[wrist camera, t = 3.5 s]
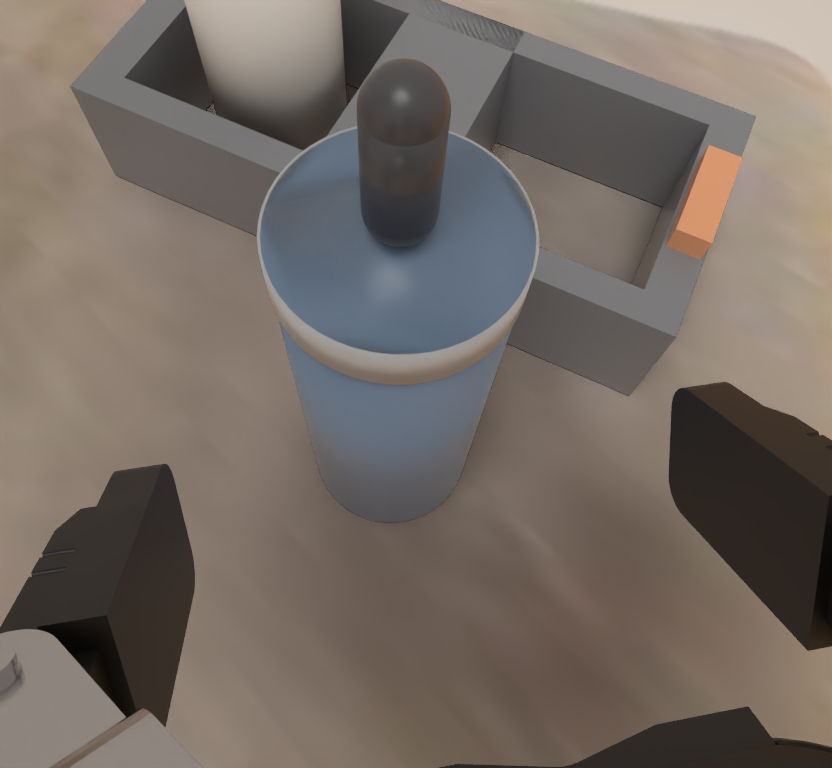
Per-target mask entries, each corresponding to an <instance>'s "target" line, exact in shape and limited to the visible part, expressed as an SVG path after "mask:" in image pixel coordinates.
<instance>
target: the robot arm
mask: <svg viewBox="0 0 832 768" xmlns="http://www.w3.org/2000/svg"><path fill="white" fill-rule="evenodd" d="M669 484H670V490H671V494H672V497H673V500H674V502H675V504H676V506H677V508H678V510H679V511H680V513H681V514H682V515H683V516H684V517H685V518H686V519H687V520H688V521H689V523H690V524H691V525H692V526H693V527H694V528H695V529H696V530H697V531H698V532H699V533H700V534H701V536H702V537H703V538H704V539H705V540H706V541H707V542H708V543H709V544H710V545H711V546H712V547H713V549H714V550H715V551H716V552H717V553H718V554H719V555H720V556H721V557H722V558H723V559H724V560H725V562H726V563H727V564H728V565H729V566H730V567H731V568H732V569H733V570H734V571H735V572H736V573H737V575H738V576H739V577H740V578H741V579H742V580H743V581H744V582H745V583H746V584H747V585H748V586H749V588H750V589H751V590H752V591H753V592H754V593H755V594H756V595H757V596H758V597H759V598H760V599H761V601H762V602H763V603H764V604H765V605H766V606H767V607H768V608H769V609H770V610H771V611H772V612H773V614H774V615H775V616H776V617H777V618H778V619H779V620H780V621H781V622H782V623H783V624H784V625H785V627H786V628H787V629H788V630H789V631H790V632H791V633H792V634H793V635H794V636H795V637H796V639H797V640H798V641H799V642H800V643H801V644H802V645H803V646H804V647H805V648H806V649H807V650H808V651H809V650H814V649H819V648H825V647H830V646H832V440H830V439H829V438H827V437H826V436H824V435H820V436H819V433H818V431H816V430H815V429H813V428H811V427H810V426H808V425H807V424H805V423H804V422H802V421H801V420H799V419H797V418H796V417H794V416H791V415H788V414H785V413H782V412H779V411H776V410H773V409H770V408H768V407H765V406H763V405H761V404H760V403H758V402H757V401H755V400H754V399H752V398H751V397H749V396H748V395H746V394H745V393H743V392H742V391H740V390H739V389H737V388H736V387H734V386H733V385H731V384H729V383H727V382H720V383H714V384H707V385H700V386H693V387H687V388H680V389H678V390H677V391H676V393H675V394H674V397H673V401H672V411H671V434H670V458H669ZM42 554H43V557H42V558H39V560H38V562H37V563H36V565H35V567H34V569H33V571H32V572H31V573H32V577H29V578H28V579H27V581H26V583H25V585H24V586H23V588H22V590H21V592H20V594H19V595H18V597H17V599H16V601H15V602H14V604H13V606H12V608H11V609H10V611H9V613H8V615H7V617H6V618H5V620H4V622H3V624H2V625H1V627H0V768H203V767H202V766H201V765H200V764H199V763H198V762H197V761H196V760H195V759H194V758H193V757H192V756H191V755H190V754H189V753H188V751H187V750H186V749H185V748H184V747H183V746H182V745H181V744H180V743H179V742H178V741H177V740H176V739H175V738H174V736H173V735H172V734H171V733H170V732H169V731H168V730H167V729H166V728H165V726H166V722H167V717H168V712H169V708H170V703H171V698H172V694H173V689H174V684H175V679H176V675H177V670H178V665H179V661H180V656H181V651H182V646H183V642H184V637H185V632H186V628H187V623H188V618H189V613H190V609H191V604H192V599H193V595H194V587H195V572H194V561H193V555H192V550H191V546H190V542H189V538H188V534H187V530H186V526H185V522H184V518H183V513H182V509H181V505H180V501H179V497H178V493H177V489H176V485H175V481H174V478H173V474H172V472H171V470H170V468H169V466H168V465H167V464H161V465H154V466H147V467H140V468H134V469H127V470H120V471H115V472H114V473H113V474H112V476H111V478H110V480H109V482H108V484H107V486H106V488H105V490H104V492H103V494H102V496H101V498H100V500H99V502H98V504H97V506H96V507H90V508H83V509H80V510H79V511H78V512H76V513H75V514H74V515H73V516H72V517H71V518H69V519H68V520H67V521H66V522H65V523H63V524H62V525H61V526H60V527H59V528H58V529H56V530H55V532H54V533H53V535H52V537H51V539H50V540H49V542H48V544H47V546H46V548H45V549H44V551H43V553H42ZM440 768H832V747H829V746H824V745H820V744H815V743H811V742H806V741H798V740H790V739H783V738H771V736H770V735H769V734H768V732H767V731H766V730H765V728H764V727H763V726H762V724H761V723H760V722H759V720H758V719H757V718H756V716H755V715H754V713H753V712H752V711H751V709H750V708H749V707H743V708H738V709H733V710H728V711H723V712H718V713H713V714H708V715H703V716H698V717H693V718H688V719H683V720H678V721H672V722H667V723H662V724H657V725H655V726H652V727H650V728H648V729H646V730H644V731H642V732H640V733H638V734H636V735H634V736H632V737H630V738H628V739H625V740H623V741H621V742H619V743H617V744H615V745H613V746H611V747H609V748H607V749H605V750H603V751H601V752H598V753H596V754H594V755H592V756H590V757H588V758H586V759H584V760H582V761H580V762H578V763H575V764H573V765H569V766H564V767H536V766H502V765H469V764H455V765H450V766H445V767H440Z"/></svg>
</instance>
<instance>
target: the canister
mask: <svg viewBox="0 0 832 768" xmlns="http://www.w3.org/2000/svg"><path fill="white" fill-rule="evenodd" d="M450 116H451V102H450V96H449V93H448V90H447V87H446V85H445V84H444V82H443V80H442V79H441V77H440V76H439V74H438V73H437V72H436V71H435V70H433V69H432V68H431V67H429V66H428V65H427V64H425V63H423V62H421V61H418V60H415V59H409V58H398V59H392V60H389V61H386V62H384V63H383V64H381V65H379V66H378V67H376V68H375V69H374V70H372V72H371V73H370V74H369V75H368V76H367V78H366V79H365V80H364V82H363V84H362V86H361V89H360V91H359V95H358V99H357V126H355V127H352V128H349V129H345V130H342V131H339V132H337V133H334V134H332V135H330V136H327V137H325V138H323V139H321V140H319V141H318V142H316V143H314V144H312V145H311V146H309V147H308V148H306V149H305V150H304V151H302V152H301V153H300V154H298V155H297V156H296V157H295V158H294V159H293V160H292V161H291V162H290V163H289V164H287V165H286V166H285V168H284V169H283V170H282V171H281V173H280V174H279V175H278V176H277V178H276V179H275V180H274V182H273V184H272V186H271V187H270V189H269V191H268V192H267V195H266V197H265V200H264V202H263V204H262V207H261V211H260V215H259V220H258V228H257V247H258V255H259V259H260V263H261V267H262V271H263V275H264V278H265V282H266V286H267V289H268V293H269V297H270V300H271V303H272V305H273V308H274V310H275V313H276V315H277V317H278V319H279V322H280V326H281V330H282V333H283V337H284V341H285V345H286V348H287V352H288V356H289V360H290V363H291V367H292V371H293V375H294V378H295V382H296V386H297V390H298V393H299V397H300V401H301V405H302V408H303V412H304V416H305V420H306V423H307V427H308V431H309V435H310V438H311V442H312V446H313V450H314V453H315V457H316V461H317V465H318V468H319V472H320V475H321V477H322V480H323V482H324V484H325V486H326V487H327V489H328V491H329V492H330V493H331V495H332V496H333V497H334V498H335V499H336V500H337V501H338V502H339V503H340V504H341V505H342V506H343V507H345V508H346V509H347V510H349V511H350V512H352V513H354V514H356V515H358V516H360V517H363V518H365V519H368V520H372V521H376V522H384V523H398V522H405V521H409V520H413V519H416V518H419V517H421V516H424V515H426V514H427V513H429V512H431V511H432V510H434V509H435V508H437V507H438V506H439V505H440V504H442V503H443V502H444V501H445V500H446V499H447V497H448V496H449V495H450V494H451V492H452V491H453V490H454V488H455V486H456V484H457V482H458V481H459V478H460V475H461V473H462V470H463V467H464V464H465V461H466V458H467V455H468V453H469V450H470V447H471V444H472V441H473V438H474V435H475V432H476V430H477V427H478V424H479V421H480V418H481V415H482V412H483V410H484V407H485V404H486V401H487V398H488V395H489V392H490V389H491V387H492V384H493V381H494V378H495V375H496V372H497V369H498V366H499V364H500V361H501V358H502V355H503V352H504V349H505V346H506V343H507V341H508V338H509V335H510V332H511V329H512V327H513V325H514V324H515V322H516V320H517V318H518V316H519V314H520V311H521V309H522V306H523V303H524V301H525V298H526V295H527V292H528V290H529V287H530V284H531V281H532V278H533V275H534V273H535V270H536V265H537V260H538V255H539V231H538V223H537V219H536V216H535V212H534V208H533V206H532V204H531V201H530V199H529V197H528V195H527V193H526V191H525V190H524V188H523V186H522V185H521V183H520V181H519V180H518V179H517V178H516V176H515V175H514V174H513V173H512V171H511V170H510V169H509V168H508V167H507V166H506V165H505V164H504V163H503V162H502V161H501V160H500V159H499V158H497V157H496V156H495V155H493V154H492V153H491V152H489V151H488V150H487V149H485V148H484V147H482V146H480V145H479V144H477V143H475V142H474V141H472V140H470V139H468V138H466V137H464V136H461V135H459V134H457V133H454V132H451V131H449V125H450Z"/></svg>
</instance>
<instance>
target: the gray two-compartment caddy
mask: <svg viewBox="0 0 832 768" xmlns="http://www.w3.org/2000/svg"><path fill="white" fill-rule="evenodd" d="M398 58H409V59H415V60H418V61H421V62H423V63H425V64H427V65H428V66H429V67H431V68H432V69H433V70H435V71H436V72H437V73H438V74H439V76H440V77H441V79H442V80H443V82H444V84H445V85H446V87H447V90H448V93H449V96H450V102H451V116H450V125H449V131H451V132H454V133H457V134H459V135H461V136H464V137H466V138H468V139H470V140H472V141H474V142H475V143H477V144H479V145H480V146H482V147H484V148H485V149H487V150H488V151H489V152H490V151H491V149H492V147H493V145H494V143H495V142H497V143H499V144H502V145H505V146H507V147H510V148H512V149H515V150H517V151H520V152H523V153H525V154H528V155H530V156H533V157H535V158H538V159H540V160H543V161H546V162H548V163H551V164H553V165H556V166H558V167H561V168H564V169H566V170H569V171H571V172H574V173H576V174H579V175H581V176H584V177H587V178H589V179H592V180H594V181H597V182H599V183H602V184H605V185H607V186H610V187H612V188H615V189H617V190H620V191H623V192H625V193H628V194H630V195H633V196H635V197H638V198H640V199H643V200H646V201H648V202H651V203H653V204H656V205H658V206H661V207H663V208H662V211H661V213H660V216H659V218H658V220H657V223H656V225H655V228H654V230H653V233H652V235H651V238H650V240H649V243H648V245H647V248H646V250H645V253H644V255H643V258H642V260H641V263H640V265H639V267H638V270H637V272H636V275H635V277H634V280H633V282H632V284H629V283H627V282H624V281H622V280H619V279H617V278H615V277H612V276H610V275H607V274H605V273H602V272H600V271H597V270H595V269H592V268H590V267H588V266H585V265H583V264H580V263H578V262H575V261H573V260H570V259H568V258H565V257H563V256H561V255H558V254H556V253H553V252H551V251H548V250H546V249H543V248H541V247H539V255H538V260H537V265H536V270H535V273H534V275H533V278H532V281H531V284H530V287H529V290H528V292H527V295H526V298H525V301H524V303H523V306H522V309H521V311H520V314H519V316H518V318H517V320H516V322H515V324H514V325H513V327H512V329H511V332H510V335H509V338H508V341H507V344H509V345H512V346H514V347H516V348H519V349H521V350H523V351H526V352H528V353H530V354H533V355H535V356H537V357H540V358H542V359H544V360H547V361H549V362H551V363H554V364H556V365H558V366H561V367H563V368H565V369H568V370H570V371H572V372H575V373H577V374H579V375H582V376H584V377H586V378H589V379H591V380H593V381H596V382H598V383H600V384H603V385H605V386H607V387H610V388H612V389H614V390H617V391H619V392H621V393H624V394H626V395H628V396H629V395H630V394H631V393H632V392H633V390H634V389H635V388H636V387H637V385H638V384H639V383H640V382H641V380H642V379H643V378H644V377H645V375H646V374H647V373H648V372H649V370H650V369H651V368H652V367H653V365H654V364H655V363H656V362H657V360H658V359H659V358H660V357H661V355H662V354H663V353H664V352H665V350H666V349H667V348H668V347H669V345H670V344H671V343H672V342H673V340H674V339H675V338H676V336H677V334H678V331H679V328H680V325H681V323H682V320H683V317H684V314H685V311H686V309H687V306H688V303H689V300H690V298H691V295H692V292H693V289H694V287H695V284H696V281H697V278H698V276H699V273H700V270H701V267H702V264H703V262H704V259H705V256H706V253H707V251H708V248H709V247H710V246H711V244H712V242H713V239H714V237H715V234H716V231H717V228H718V226H719V223H720V220H721V217H722V215H723V212H724V209H725V206H726V203H727V201H728V198H729V195H730V192H731V190H732V187H733V184H734V181H735V178H736V176H737V173H738V170H739V167H740V165H741V162H742V159H743V157H742V154H743V151H744V148H745V146H746V143H747V140H748V137H749V135H750V132H751V129H752V126H753V124H754V121H755V118H756V116H754V115H751V114H748V113H746V112H743V111H740V110H738V109H735V108H732V107H729V106H727V105H724V104H721V103H718V102H716V101H713V100H710V99H707V98H705V97H702V96H699V95H697V94H694V93H691V92H688V91H686V90H683V89H680V88H677V87H675V86H672V85H669V84H666V83H664V82H661V81H658V80H656V79H653V78H650V77H647V76H645V75H642V74H639V73H636V72H634V71H631V70H628V69H625V68H623V67H620V66H617V65H615V64H612V63H609V62H606V61H604V60H601V59H598V58H595V57H593V56H590V55H587V54H584V53H582V52H579V51H576V50H574V49H571V48H568V47H565V46H563V45H560V44H557V43H554V42H552V41H549V40H546V39H543V38H541V37H538V36H535V35H533V34H530V33H527V32H524V31H522V30H519V29H516V28H513V27H511V26H508V25H505V24H502V23H500V22H497V21H494V20H492V19H489V18H486V17H483V16H481V15H478V14H475V13H472V12H470V11H467V10H464V9H461V8H459V7H456V6H453V5H450V4H448V3H445V2H442V1H440V0H147V1H146V2H145V3H144V4H143V6H142V7H141V8H140V9H139V10H138V11H137V12H136V13H135V14H134V16H133V17H132V18H131V19H130V20H129V21H128V22H127V23H126V24H125V26H124V27H123V28H122V29H121V30H120V31H119V32H118V33H117V34H116V36H115V37H114V38H113V39H112V40H111V41H110V42H109V43H108V45H107V46H106V47H105V48H104V49H103V50H102V51H101V52H100V53H99V55H98V56H97V57H96V58H95V59H94V60H93V61H92V62H91V63H90V65H89V66H88V67H87V68H86V69H85V70H84V71H83V72H82V73H81V75H80V76H79V77H78V78H77V79H76V80H75V81H74V82H73V84H72V85H71V86H70V87H71V89H72V91H73V93H74V95H75V96H76V98H77V100H78V102H79V104H80V106H81V108H82V110H83V112H84V114H85V116H86V118H87V120H88V122H89V124H90V126H91V128H92V130H93V132H94V134H95V136H96V138H97V140H98V142H99V144H100V146H101V148H102V150H103V152H104V153H105V155H106V157H107V159H108V161H109V163H110V165H111V167H112V169H113V171H114V173H115V175H116V176H118V177H121V178H123V179H125V180H128V181H130V182H132V183H135V184H137V185H139V186H142V187H144V188H146V189H149V190H151V191H153V192H156V193H158V194H160V195H163V196H165V197H167V198H170V199H172V200H174V201H177V202H179V203H181V204H184V205H186V206H188V207H191V208H193V209H195V210H198V211H200V212H202V213H204V214H207V215H209V216H211V217H214V218H216V219H218V220H221V221H223V222H225V223H228V224H230V225H232V226H235V227H237V228H239V229H242V230H244V231H246V232H249V233H251V234H253V235H256V236H257V228H258V220H259V215H260V211H261V207H262V204H263V202H264V200H265V197H266V195H267V192H268V191H269V189H270V187H271V186H272V184H273V182H274V180H275V179H276V178H277V176H278V175H279V174H280V173H281V171H282V170H283V169H284V168H285V166H286V165H287V164H289V163H290V162H291V161H292V160H293V159H294V158H295V157H296V156H297V155H298V154H300V153H301V152H302V151H304V150H305V149H306V148H308V147H309V146H311V145H312V144H314V143H316V142H318V141H319V140H321V139H323V138H325V137H327V136H330V135H332V134H334V133H337V132H339V131H342V130H345V129H349V128H352V127H355V126H357V99H358V95H359V91H360V89H361V86H362V84H363V82H364V80H365V79H366V78H367V76H368V75H369V74H370V73H371V72H372V70H374V69H375V68H376V67H378V66H379V65H381V64H383V63H384V62H386V61H389V60H392V59H398ZM346 84H348V85H351V86H353V87H356V88H358V91H357V92H356V94H355V95H354V97H353V98H352V100H351V101H350V103H349V104H348V106H347V100H346ZM212 102H213V104H214V107H215V111H216V114H217V115H215V114H212V113H210V112H207V111H206V109H207V108H208V107H209V106H210V104H211V103H212Z"/></svg>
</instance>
